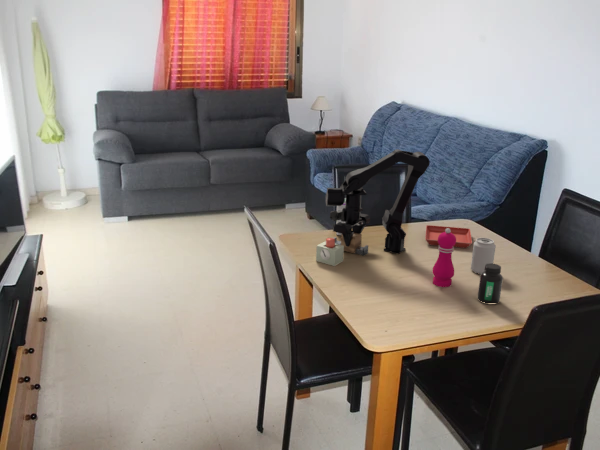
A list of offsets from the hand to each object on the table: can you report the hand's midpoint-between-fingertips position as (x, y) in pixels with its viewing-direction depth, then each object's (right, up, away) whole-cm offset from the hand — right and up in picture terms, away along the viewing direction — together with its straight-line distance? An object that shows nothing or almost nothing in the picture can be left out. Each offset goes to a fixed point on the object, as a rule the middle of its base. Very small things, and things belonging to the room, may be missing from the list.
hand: (350, 244), depth 229 cm
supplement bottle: (+41, -17, -38) cm, 58 cm away
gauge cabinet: (-9, -6, -10) cm, 14 cm away
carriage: (0, -2, +1) cm, 2 cm away
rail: (-1, -2, +1) cm, 3 cm away
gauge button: (-9, -2, -11) cm, 14 cm away
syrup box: (-2, +4, +19) cm, 20 cm away
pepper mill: (+29, -13, -26) cm, 41 cm away
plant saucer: (+41, +1, +15) cm, 43 cm away
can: (+45, -9, -15) cm, 49 cm away
